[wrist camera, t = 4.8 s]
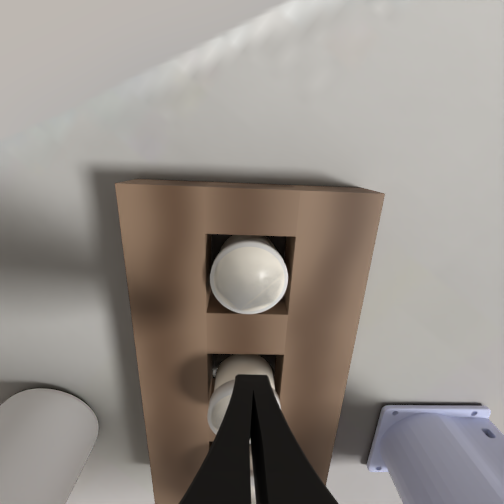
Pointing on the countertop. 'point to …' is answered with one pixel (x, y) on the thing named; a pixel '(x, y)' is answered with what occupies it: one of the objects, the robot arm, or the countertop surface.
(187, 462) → the knob board
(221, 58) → the countertop surface
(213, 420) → the middle knob
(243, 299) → the outer knob
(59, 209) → the countertop surface
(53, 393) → the pill bottle
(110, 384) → the countertop surface
